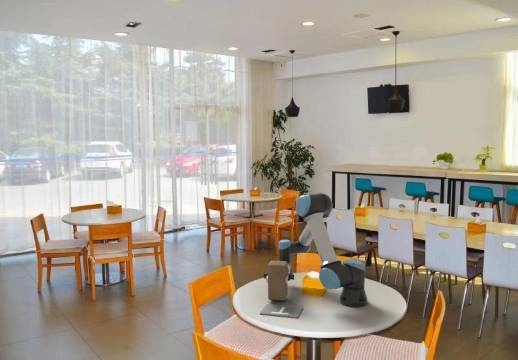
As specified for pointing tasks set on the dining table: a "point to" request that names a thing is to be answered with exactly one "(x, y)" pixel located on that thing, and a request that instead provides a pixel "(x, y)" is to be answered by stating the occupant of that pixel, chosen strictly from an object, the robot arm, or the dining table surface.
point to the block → (277, 280)
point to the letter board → (281, 311)
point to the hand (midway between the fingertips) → (276, 280)
